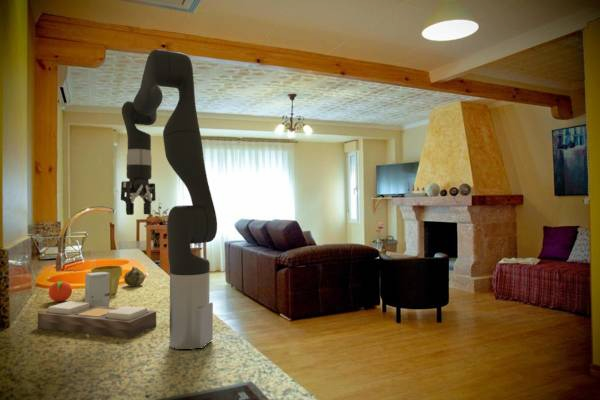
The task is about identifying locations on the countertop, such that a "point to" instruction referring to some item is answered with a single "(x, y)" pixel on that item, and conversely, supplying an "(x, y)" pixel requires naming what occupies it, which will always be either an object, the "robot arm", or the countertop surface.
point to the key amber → (96, 312)
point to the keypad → (96, 323)
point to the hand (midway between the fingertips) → (138, 214)
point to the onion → (134, 277)
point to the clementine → (60, 291)
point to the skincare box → (97, 289)
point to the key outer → (68, 307)
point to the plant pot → (114, 275)
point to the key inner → (127, 313)
